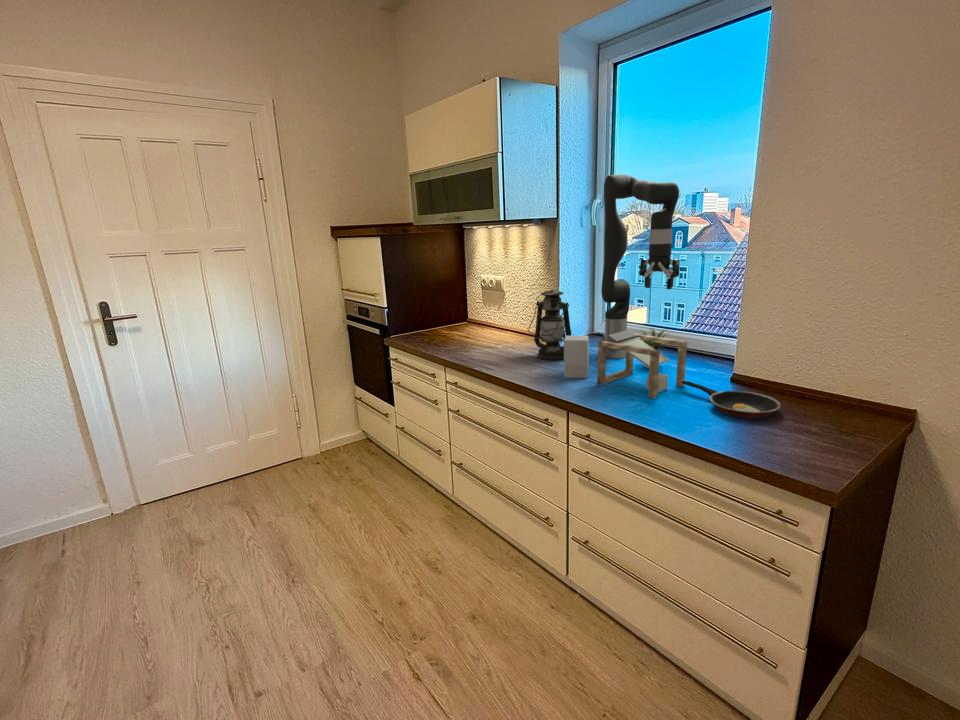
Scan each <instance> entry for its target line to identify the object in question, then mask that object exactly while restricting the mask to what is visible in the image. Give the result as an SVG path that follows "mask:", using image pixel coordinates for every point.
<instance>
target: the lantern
mask: <svg viewBox="0 0 960 720" xmlns="http://www.w3.org/2000/svg"><path fill="white" fill-rule="evenodd" d="M563 294H565V292H563V291H560V290H552V289H551V290H546V291H543V292H541V293H540V295H542V296H544V297H543V300H542V301H539V300H536V306H535V309H534V315H533V317H532V319H531V322H530V324H529V327H528V330H527V332H528V333H529V334H531V335H534V337H533V342H534V343H535V345H536V346H537V347H538V353H537V354H536V359H537V358H538V359H537V360H539V359H540V360H539V361H543V360H544V362H561V360H562V361H564V345H561V344H562V342H564V339H565V337H566V336H572V329H571V321H570V313H569V306H570V304H569V302H568V301H567V302H566V303H565V302H564V301H562V298H561V296H562V295H563ZM561 310H562V313H561ZM543 311H544V316H543ZM535 316H536V322H535V330H534V331H535V332H534V333H532V332H531V331H530V329H531V326H532V324H533V321H534V319H535ZM542 342H543V343H542ZM544 342H545V343H544Z"/></svg>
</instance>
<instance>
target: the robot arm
mask: <svg viewBox="0 0 960 720" xmlns="http://www.w3.org/2000/svg"><path fill="white" fill-rule="evenodd" d="M629 198H635V199H636V200H639V201H642V202H646V203H647V204H649V205H663V206H662V208H661V210H658V211H654V212H653V213H651V216H650V231H649V238H648V239H649V241H648V258H642V259H640V267H639V276H642V277H644V287H645V289H650V288H651V284H652V283H651V280H652V279H651V276H652V275H653V273H655V272H659V273H661V272H662V273H663V274H664V275H665V276H666V278H667V279H666V290H672V288H673V287H674V279H675V278H677V277H679V276H680V259H679V258H676V259H671V257H672V249H673V248H672V246H673V245H672V243H673V230H672V228H673V217H674V214H675V210H676V207H677V204H678V201H679V198H680V188H679V185H678V184H677V183H675V182H671V181H670V182H656V181H653V180H643V179H638V178H636V177H635V176H632V175H630V174H609V175H608V176H606V178H605V179H604V184H603V201H604V203H603V204H604V234H603V239H604V240H603V242H604V243H603V248H604V249H603V253H604V255H603V270H602V271H603V272H602V279H601V280H602V281H601V297H602V300H603V301H604V303H606V304H611V303H614V305H613V306H612V307H610V308H609V309H607V310H605V313H604V333H603V334H602V341H606V340H607V337H608V335H611V334H615V333H618V332H622V331H626V330H628V313H629V311H630V299H631V287H630V283H629V282H628V281H627V280H625V279H618V280H616V279H615V278H616V277H615V276H616V272H617V269H618V266H619V264H620V262H621V260H622V259H623V258H624V256H625V254H626V251H627V249H628V230H627V228H626V225H625V223H624V222H623V219H622V218H621V216H620V215H619V212H618V209H617V200H621V199H622V200H623V199H629ZM648 265H649V266H648ZM670 265H671V267H670ZM624 358H626V351H624V350H619V351H616V352H610V351H609V350H607V349H606V359H614V360H615V359H616V360H618V359H624Z"/></svg>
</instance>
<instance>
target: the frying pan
mask: <svg viewBox="0 0 960 720" xmlns="http://www.w3.org/2000/svg"><path fill="white" fill-rule="evenodd" d="M681 383H683V384H684V386H688V387H692V388H696V389H699V390H701V391H703V392H705V393H706V394H708V395H709V401H711V403H712V404H713V406H715V408H716V409H718V410H719V411H720V412H721V413H723V414H726V415H728V416H731V417H735V418H740V419H741V418H742V419H751V420H754V419H763V418H767V417H768V416H771V415H772V414H774V412H776V411H778V410H779V409H780V408H781V402H779V400H777V399H775V398H774V397H771V396H768V395H765V394H761V393H759V392H758V393H757V392H752V391H751V392H750V391H741V390H724V391H717V390H715V389H712V388H709V387H708V386H704V385H701V384H698V383H696V382H693V381H688V380H685V381H681Z"/></svg>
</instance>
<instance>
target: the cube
mask: <svg viewBox="0 0 960 720" xmlns="http://www.w3.org/2000/svg"><path fill="white" fill-rule="evenodd" d="M668 385H669V375H668V374H666V373H665V374H663V373H660V372H658V392H657V393H660V391H661V392H663V391H666V390H668ZM648 389H649V374H647V375H646V390H648ZM665 389H666V390H665ZM662 390H663V391H662Z"/></svg>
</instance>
